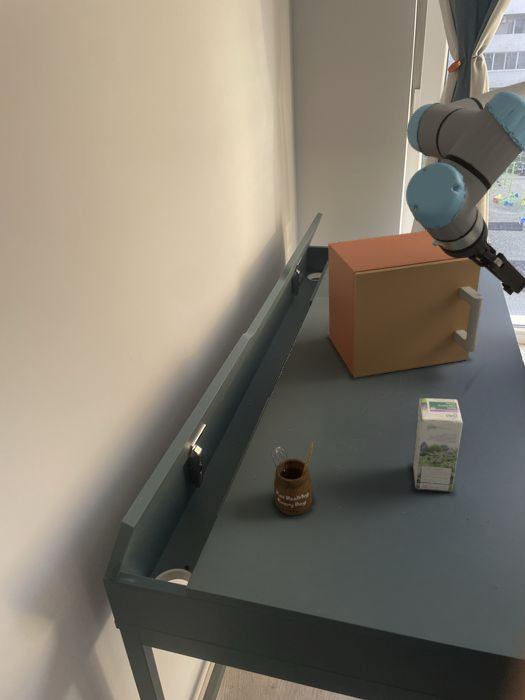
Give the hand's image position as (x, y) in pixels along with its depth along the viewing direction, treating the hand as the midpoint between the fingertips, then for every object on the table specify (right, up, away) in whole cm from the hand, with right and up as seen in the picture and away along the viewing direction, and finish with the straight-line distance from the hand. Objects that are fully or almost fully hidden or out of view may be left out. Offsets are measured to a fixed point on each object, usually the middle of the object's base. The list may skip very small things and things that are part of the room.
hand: (484, 267), depth 99 cm
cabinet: (-11, -15, +25) cm, 31 cm away
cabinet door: (-9, -21, +14) cm, 26 cm away
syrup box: (-14, -37, -13) cm, 42 cm away
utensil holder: (-37, -40, -15) cm, 56 cm away
